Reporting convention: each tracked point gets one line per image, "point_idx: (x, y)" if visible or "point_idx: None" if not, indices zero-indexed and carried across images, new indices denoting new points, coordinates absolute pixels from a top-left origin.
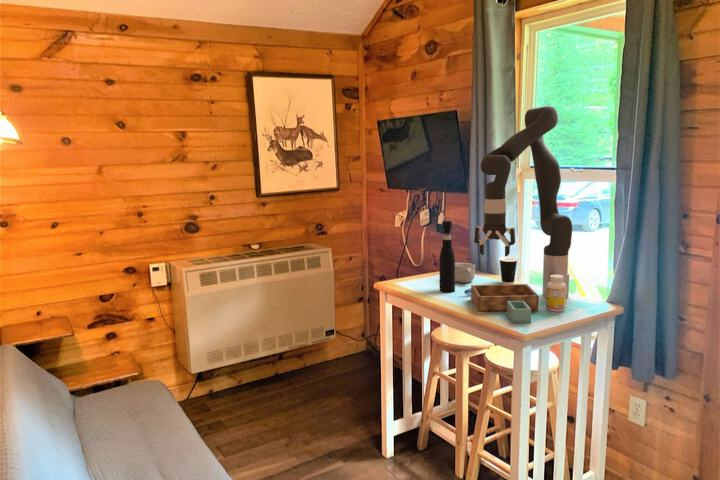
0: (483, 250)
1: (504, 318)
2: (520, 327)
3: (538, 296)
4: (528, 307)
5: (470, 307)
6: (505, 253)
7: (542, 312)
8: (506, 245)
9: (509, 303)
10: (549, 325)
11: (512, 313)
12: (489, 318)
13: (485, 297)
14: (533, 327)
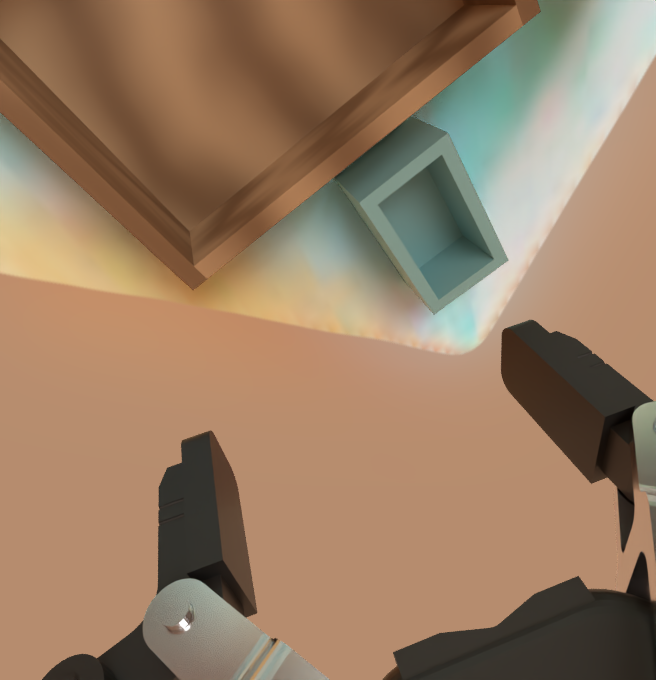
0: (235, 515)
1: (348, 245)
2: None
3: (536, 13)
4: (493, 243)
5: None
6: (532, 407)
7: None
8: (625, 492)
9: (386, 238)
10: (544, 211)
11: (413, 288)
12: (287, 289)
13: (230, 258)
14: None
